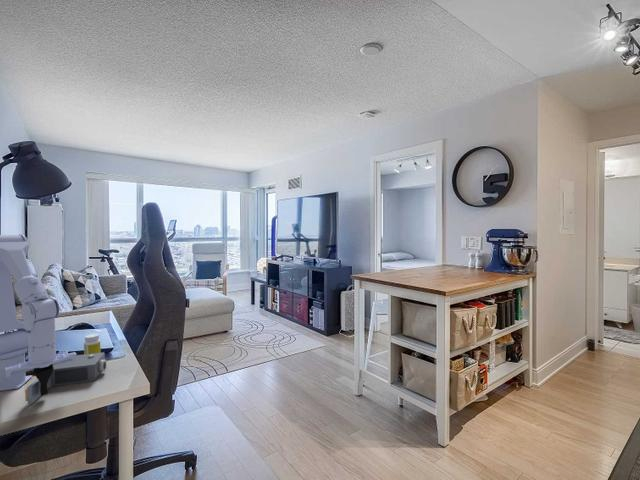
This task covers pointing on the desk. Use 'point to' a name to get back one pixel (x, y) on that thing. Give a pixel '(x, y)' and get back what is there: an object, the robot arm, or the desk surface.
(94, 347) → the supplement bottle
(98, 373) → the camera body
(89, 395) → the desk surface
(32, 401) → the side door
